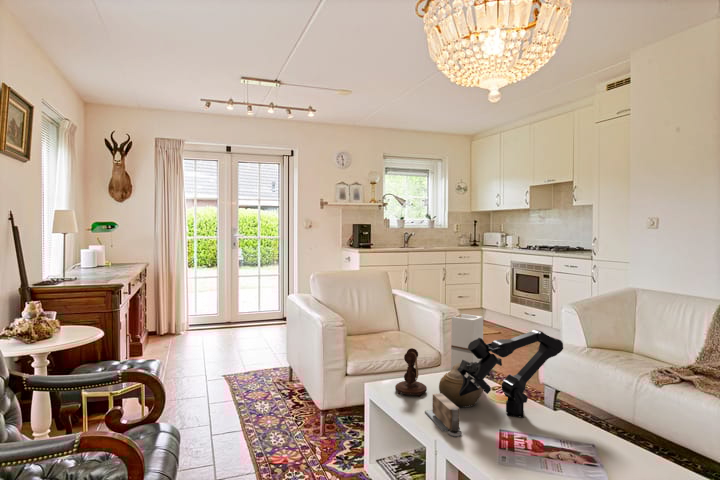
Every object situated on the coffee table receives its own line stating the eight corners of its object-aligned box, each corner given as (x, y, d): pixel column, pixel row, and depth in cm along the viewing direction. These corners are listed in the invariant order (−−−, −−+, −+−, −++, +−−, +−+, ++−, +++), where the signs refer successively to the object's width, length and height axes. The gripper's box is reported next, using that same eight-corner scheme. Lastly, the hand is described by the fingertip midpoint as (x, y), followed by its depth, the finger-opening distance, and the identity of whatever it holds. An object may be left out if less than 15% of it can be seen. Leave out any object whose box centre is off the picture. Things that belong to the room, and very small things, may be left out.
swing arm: (461, 430, 163) (461, 410, 163) (451, 431, 162) (451, 411, 162) (441, 411, 180) (441, 393, 180) (432, 412, 179) (432, 394, 179)
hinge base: (462, 432, 165) (462, 430, 165) (460, 438, 160) (460, 436, 160) (449, 430, 167) (449, 428, 167) (447, 435, 162) (447, 433, 162)
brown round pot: (477, 396, 202) (479, 359, 201) (484, 412, 185) (486, 372, 184) (434, 393, 204) (435, 357, 203) (437, 409, 187) (438, 369, 186)
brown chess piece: (424, 399, 197) (424, 355, 197) (392, 395, 201) (392, 352, 201) (428, 388, 211) (428, 347, 211) (398, 385, 216) (399, 345, 215)
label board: (459, 429, 167) (459, 426, 167) (442, 431, 165) (442, 428, 165) (440, 410, 185) (440, 408, 185) (424, 412, 183) (424, 409, 183)
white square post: (482, 388, 212) (483, 316, 211) (472, 394, 204) (473, 319, 203) (461, 382, 219) (462, 313, 219) (450, 388, 211) (451, 316, 211)
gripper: (461, 347, 186) (437, 374, 183) (484, 359, 168) (457, 390, 165) (478, 364, 188) (454, 391, 185) (502, 378, 170) (476, 409, 167)
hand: (459, 395), depth 176 cm, fingers closed
